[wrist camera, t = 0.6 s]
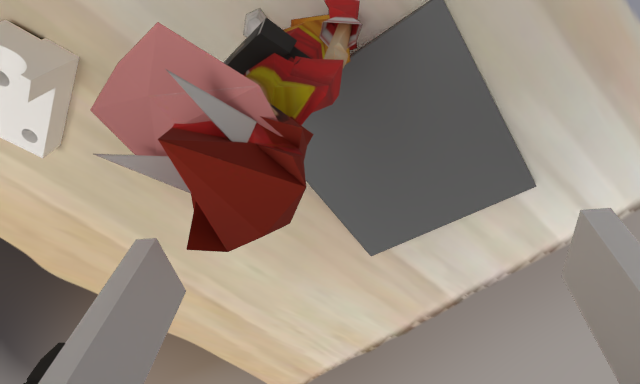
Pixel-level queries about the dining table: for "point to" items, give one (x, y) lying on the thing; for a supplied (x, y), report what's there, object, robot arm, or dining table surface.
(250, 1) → the dining table surface
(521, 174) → the mat
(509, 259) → the dining table surface
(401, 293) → the dining table surface
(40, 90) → the bracket
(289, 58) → the toy
